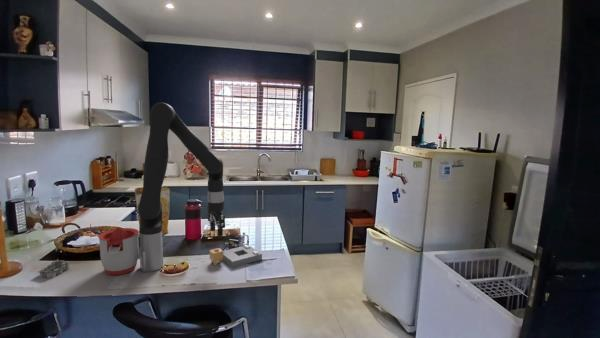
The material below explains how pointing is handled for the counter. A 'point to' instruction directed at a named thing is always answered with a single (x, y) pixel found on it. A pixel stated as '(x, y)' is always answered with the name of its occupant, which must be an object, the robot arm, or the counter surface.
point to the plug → (216, 255)
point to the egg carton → (51, 270)
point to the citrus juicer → (119, 250)
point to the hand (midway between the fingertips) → (216, 233)
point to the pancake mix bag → (165, 206)
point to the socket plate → (241, 256)
